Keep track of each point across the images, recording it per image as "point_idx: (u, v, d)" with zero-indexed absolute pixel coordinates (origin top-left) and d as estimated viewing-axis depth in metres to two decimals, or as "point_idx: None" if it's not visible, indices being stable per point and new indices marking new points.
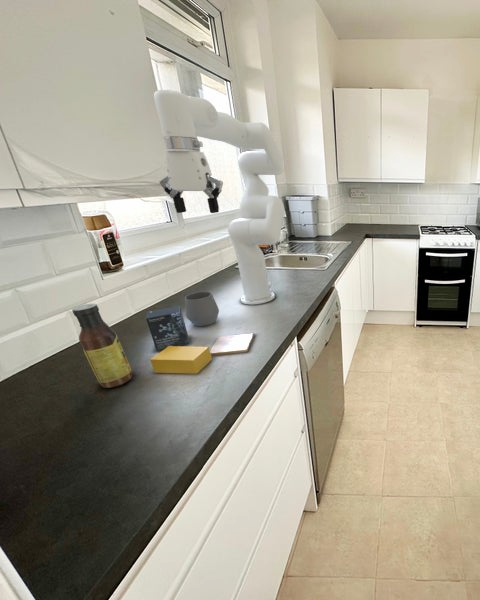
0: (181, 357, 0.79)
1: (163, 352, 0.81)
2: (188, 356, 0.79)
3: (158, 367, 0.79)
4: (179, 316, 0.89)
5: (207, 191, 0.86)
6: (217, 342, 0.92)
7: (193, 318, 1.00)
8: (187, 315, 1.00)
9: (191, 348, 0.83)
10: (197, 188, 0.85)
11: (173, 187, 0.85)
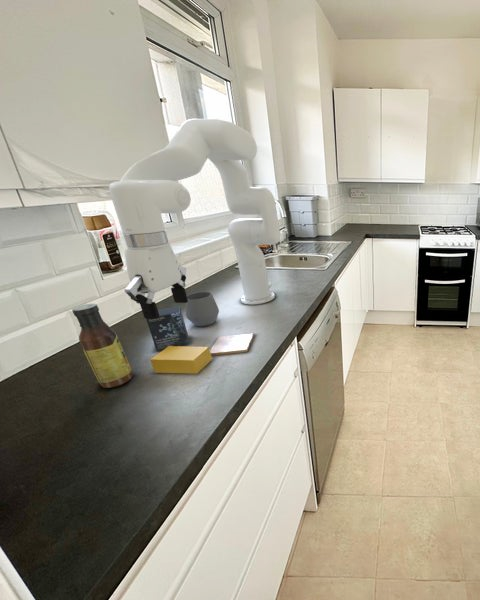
0: (181, 357, 0.79)
1: (163, 352, 0.81)
2: (188, 356, 0.79)
3: (158, 367, 0.79)
4: (179, 316, 0.89)
5: (180, 281, 0.79)
6: (217, 342, 0.92)
7: (193, 318, 1.00)
8: (187, 315, 1.00)
9: (191, 348, 0.83)
10: (176, 281, 0.76)
11: (155, 289, 0.70)
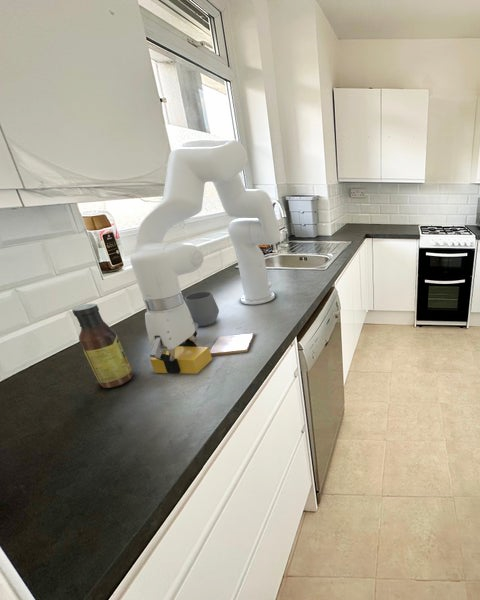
0: (181, 357, 0.79)
1: None
2: (188, 356, 0.79)
3: (158, 367, 0.79)
4: None
5: (193, 337, 0.83)
6: (217, 342, 0.92)
7: (193, 318, 1.00)
8: None
9: (191, 348, 0.83)
10: (191, 334, 0.82)
11: (172, 347, 0.75)
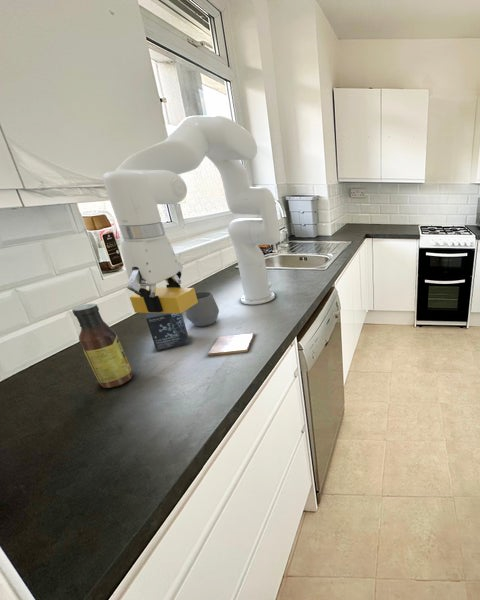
0: (163, 295, 0.73)
1: None
2: (171, 295, 0.73)
3: (138, 306, 0.73)
4: (179, 316, 0.89)
5: (176, 277, 0.77)
6: (217, 342, 0.92)
7: (193, 318, 1.00)
8: (187, 315, 1.00)
9: (175, 289, 0.77)
10: (174, 273, 0.75)
11: (153, 281, 0.69)
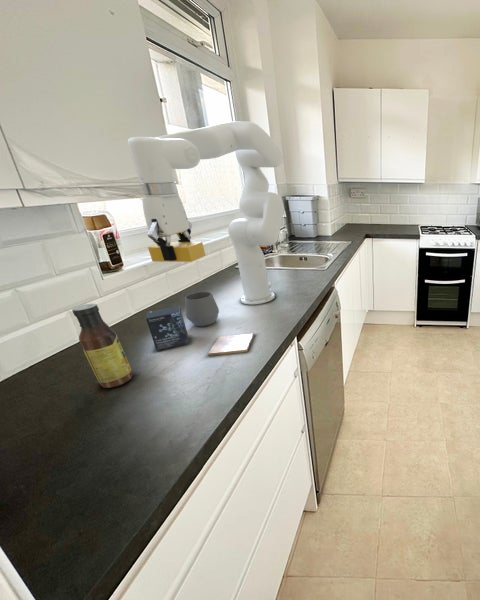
0: (177, 246, 0.85)
1: None
2: (183, 246, 0.86)
3: (155, 255, 0.85)
4: (179, 316, 0.89)
5: (187, 233, 0.90)
6: (217, 342, 0.92)
7: (193, 318, 1.00)
8: (187, 315, 1.00)
9: (186, 242, 0.89)
10: (185, 228, 0.88)
11: (168, 232, 0.82)
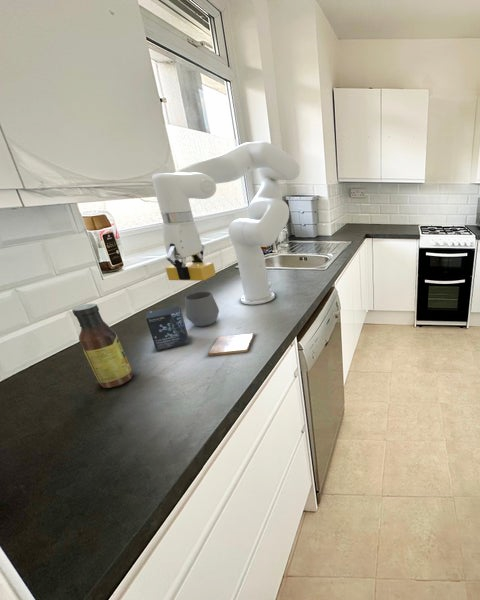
0: (191, 267, 0.96)
1: None
2: (196, 266, 0.96)
3: (172, 275, 0.96)
4: (179, 316, 0.89)
5: (200, 254, 1.00)
6: (217, 342, 0.92)
7: (193, 318, 1.00)
8: (187, 315, 1.00)
9: (198, 263, 1.00)
10: (198, 251, 0.99)
11: (184, 255, 0.92)
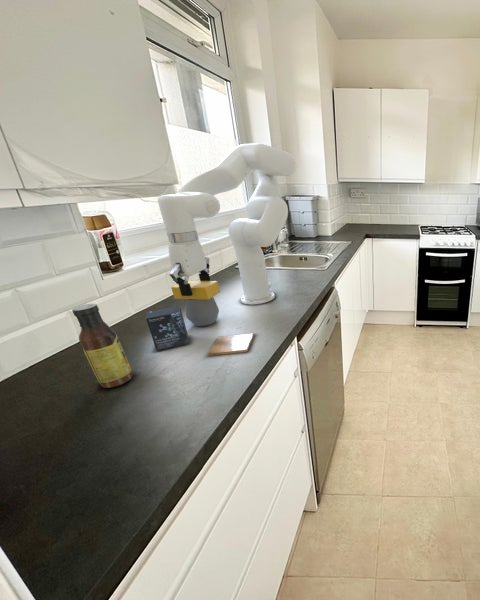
0: (196, 286, 0.98)
1: None
2: (201, 286, 0.98)
3: (177, 294, 0.98)
4: (179, 316, 0.89)
5: (206, 268, 1.03)
6: (217, 342, 0.92)
7: (193, 318, 1.00)
8: (187, 315, 1.00)
9: (203, 281, 1.02)
10: (203, 268, 1.01)
11: (189, 273, 0.95)
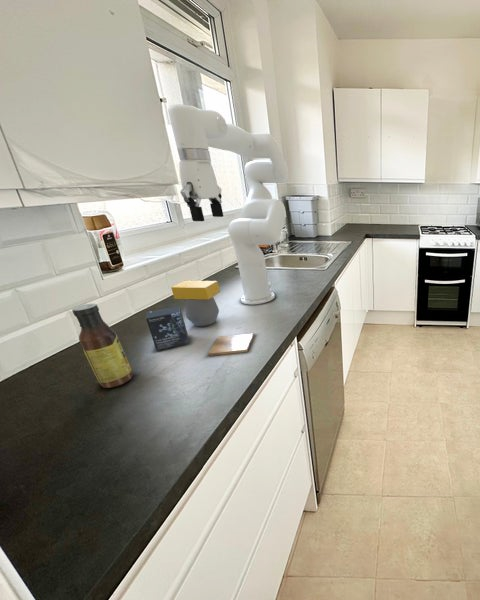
0: (196, 286, 0.98)
1: (181, 283, 1.00)
2: (201, 286, 0.98)
3: (177, 294, 0.98)
4: (179, 316, 0.89)
5: (218, 197, 0.96)
6: (217, 342, 0.92)
7: (193, 318, 1.00)
8: (187, 315, 1.00)
9: (203, 281, 1.02)
10: (215, 195, 0.94)
11: (201, 196, 0.88)
